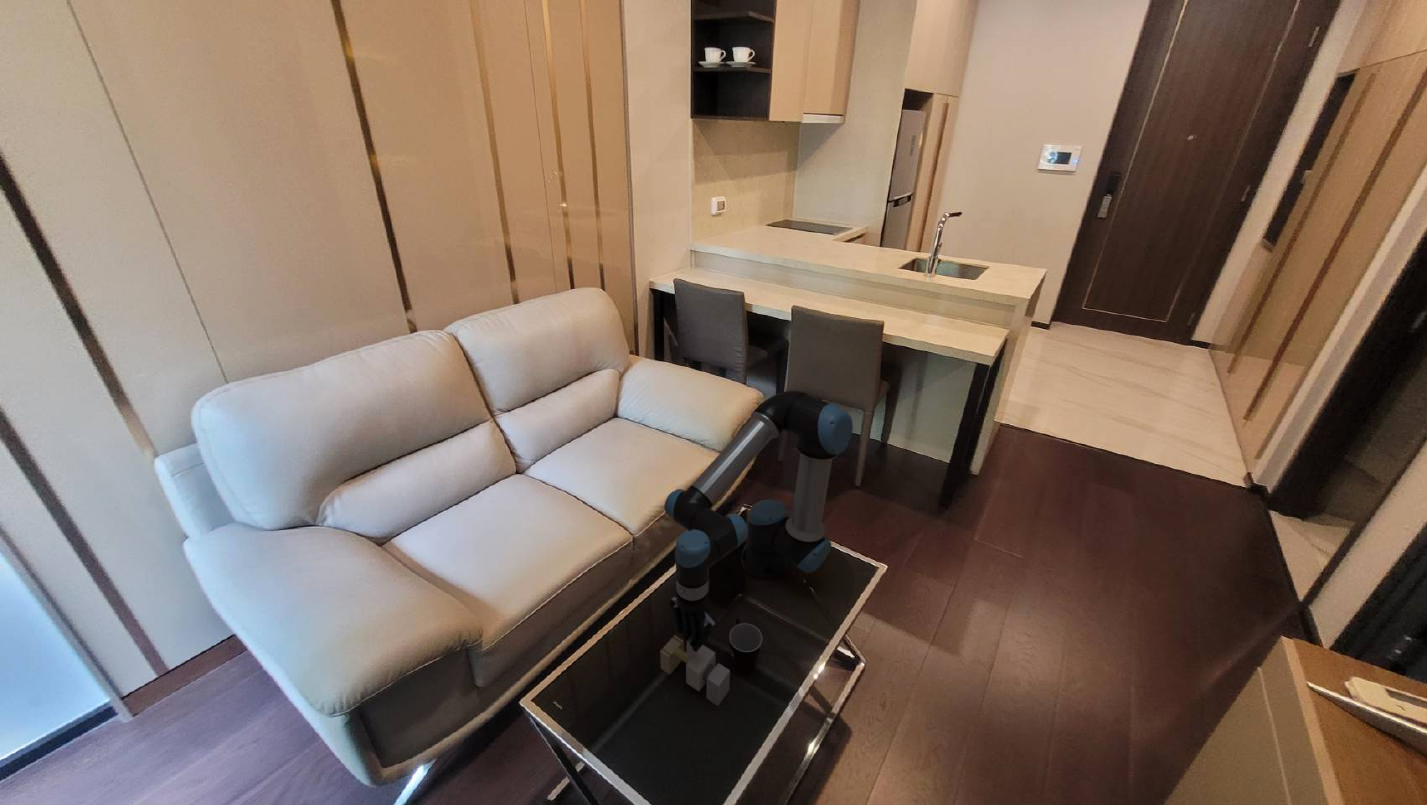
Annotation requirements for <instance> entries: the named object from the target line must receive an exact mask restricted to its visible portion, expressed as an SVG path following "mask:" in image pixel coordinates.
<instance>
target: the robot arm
mask: <svg viewBox="0 0 1427 805" xmlns="http://www.w3.org/2000/svg"><path fill="white" fill-rule="evenodd" d="M853 428H854V426H853V420H852V416H851V415H850V413H849V412H848V411H847V410H845V409H844V408H841V407H840V406H838V405H836V404H834V403H830V402H827V401H825V400H823V399H821V398H818V397H816V396H813V395H811V394H808V393H807V392H804V391H802V390H794V389H793V390H786V391H783V392H779V393H776V394H774V395H772V396H770V397H769V398H768V399H766V400H764V401H763V402H762V403H760V404H759V405H758V406H757V407H756V408H755V409H754V410H753V411H752V412H751V413H750V420H749V421H748V422H747V423H746V425H744V426H743V428H742V429H740V431H739V432H738V433H737V434H736V435H735V437H733V439H732V440H731V441H730V442H729V443H728V444H727V445H726V446H725V448H724V449H723V450H722V451H721V452H720V453H719V454H718V455H717V456H716V457H715V459H713V461H712V462H711V463H710V464H709V465H708V467H706V468H705V470H704V471H703V472H702V473H701V474H700V475H699V476H698V477H697V478H696V479H695V481H694V482H693V483H692V484H691V485H690V486H689V487H688V488H687V489H686V490H684V489H681V488H677V489H675V490H673V491H672V492H670V493H669V494H668V495H667V498H666V500H665V502H664V507H663V508H664V511H665V515H667V516H669V517H670V518H671V519H672V520H673V521H674V522H675V524H678V525H679V526H681V527H682V528H684V529H685V531H683V532H682V533H681V534H680V535H678V536H677V539H676V542H675V551H674V557H675V575H676V576H675V578H676V579H675V580H676V581H675V584H676V586H675V587H676V590H675V591H676V592H675V593H676V594H675V595H674V596H673V597H672V598H671V599H670V600H669V601H668V605H669V606H670V608H671V610H672V614H673V618H674V619H673V620H674V622H675V626H676V630H677V633H678V634H679V635H682V636H683V639H684V646H686V653H687V658H688V659H689V660H691V659H692V657H693V656H694V655H695V654H696V653H697V651H698V650H699V649H700V648H701V647H702V645H704V644H705V643H706V642H707V641H708V639H709V636H710V633H711V631H712V629H713V627H715V625H716V624H717V622H718V620H717V618H715V617H714V618H712V617H710V615H709V610H708V604H709V594H710V593H709V588H710V568H711V567H712V566H714V565H715V564H716V563H717V562H719V561H721V560H722V559H723V558H725V557H726V556H728V555H729V554H731V553H732V552H733V551H735V550H737V549H738V548H739V546H741V545H742V544H743V543H744V542H746V541H747V542H746V544H745V545H744V547H743V550H742V552H741V555H740V564H741V567H742V568H743V570H744V571H745V573H747V574H748V575H749V576H751V577H753V578H755V579H757V580H758V579H759V580H763V581H765V580H767V581H769V580H774V579H778V578H779V577H781V576H783V574H784V573H785V572H786V570H787V567H788V563H790V564H791V565H793V566H794V567H795V568H797V569H799V570H801V571H802V572H805V573H806V574H811V573H813V572H815V571H816V570H817V569H819V567H820V566H822V564H823V563H824V562H825V560H826V559H827V557H828V556H829V554H830V551H831V549H832V542H831V541H830V539H828V538H825V537H826V527H825V524H824V523H823V522H822V521H823V516H824V510H825V504H826V499H827V498H826V497H827V494H828V492H827V491H828V487H829V480H830V474H831V468H832V464H833V463H832V462H833V460H834V459H835V458H837V457H838V456H839V454H840V455H841V454H842V453H843V452H844V451H845V450H846V449H847V447H848V445H849V441H850V440H851V438H852V435H853ZM785 432H787V433H789V434H790V435H792V436H795V437H796V441H795V449H796V451H797V452H798V453H799V454H800V455H799V461H798V468H797V475H796V476H797V477H796V482H795V483H796V484H795V490H794V491H795V492H794V499H793V506H792V514H791V516H790V515H788V514H789V511H788V508H787V505H786V504H784V502H781V501H779V500H776V499H763V500H760V501H757V502H756V503H754V504H753V506H751V508H750V510H749V511H750V512H749V516H748V525H747V523H746V521H745V520H744V519H743V517H742V516H740V515H739V514H738V513H729V514H726V515H725V516H723V515H721V514H719V512H716V510H713V509H712V507H713V506H714V505H715V503H716V502H717V501H718V500H719V499H720V498H721V496H722V495H724V493H725V492H726V491H727V490H728V488H729V487H730V486H731V485H732V484H733V483H734V482H735V480H737V478H738V477H739V476H740V475H741V474H742V472H743V471H744V470H745V469H747V467H748V466H749V464H751V463H752V462H753V460H754V459H755V458H756V457H757V455H758V454H759V453H760V452H761V451H762V450H763V449H764V447H765V446H766V445H767V444H768V443H769V442H770V441H771V440H772V439H777V438H779V436H780V435H781V434H782V433H785ZM703 620H704V624H703V623H702V622H703ZM702 624H703V625H702ZM702 626H703V628H702Z"/></svg>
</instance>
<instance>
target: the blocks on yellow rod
mask: <svg viewBox="0 0 1427 805" xmlns="http://www.w3.org/2000/svg"><path fill="white" fill-rule="evenodd" d="M684 646H685V640H683V639H681V638H680V637H678V636H677V635H675V634H674V635H673V636H672V638H670V640H669V641H668V642H667V643H666V644H665V646H663V647H662V648H661V649H660V651H659V653H660V654H659V655H660V658H659V659H660V669H661V670H662V671H664V672H665V673H666V674H668V675H671V674H672V673H673V671H674V670H675V669H676V668H677V667H678V665H679V664H680V663H681V662H684V663H685V664H687V663H688V662H689V661H690V660H689V659H688V658H687V651H684V650H685V648H684ZM730 678H731V670H730V669H729V668H727V667H725V666H723V665H722V664H720V663H717V664H716V665H715V666H713V665H710V666H709V667H708V668H707V669H706V671H705V672H704V676H703V680H704V681H706V696H705V697H706V699H707V700H708V701H710V702H711V703H712V704H714V705H715V706H717V707H719V705H720V704H721V703H722V701H723V699H725V697H726V696H727V694H728V693H729V691H730V681H731V680H730Z"/></svg>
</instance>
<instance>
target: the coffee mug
mask: <svg viewBox="0 0 1427 805" xmlns="http://www.w3.org/2000/svg"><path fill="white" fill-rule="evenodd" d="M735 623H736V625H735V626H733V627H732V628H731V629H730V631H729V636H728V639H729V646H730V654H731V655H730V657H731V663H732V666H733V668H734V669H735V670H736V671H737V672H738V673H741V674H746V673H751V672H753V670H754V669H755V668H756V665H757V661H758V658H759V653H760V650H761V646H762V642H763V634H762V632H761V630H760V629H759V628H758V627H757V626H756V625H754V624H751V623H747V622H744V623H741V621H740V619H739V618H738V617H737V618H736V619H735Z"/></svg>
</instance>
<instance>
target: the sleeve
mask: <svg viewBox="0 0 1427 805" xmlns="http://www.w3.org/2000/svg"><path fill="white" fill-rule="evenodd" d="M716 654H717V653H716V652H715V651H713V650H711V648H709V647H707V646H705V645H704V644H703V645H702V647H700V648H699V649H698V651H697V653H696V654H695V655H694V656H693V657H692V659H691V660H690V661H689V662H688V663H686V665H685V675H686V676H685V677H686V679H685V681H686V682H685V683H686V684H688V685H689V686H690V687H692V688H693V689H695V690H696V691H697V692H700V691H701V690H702V688H703V686H705V685H706V684H707V682H706V681H704V680H703V676H704V672H705V671H706V669H707V668H708V667H709V666H710V665H713V666H716Z"/></svg>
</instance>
